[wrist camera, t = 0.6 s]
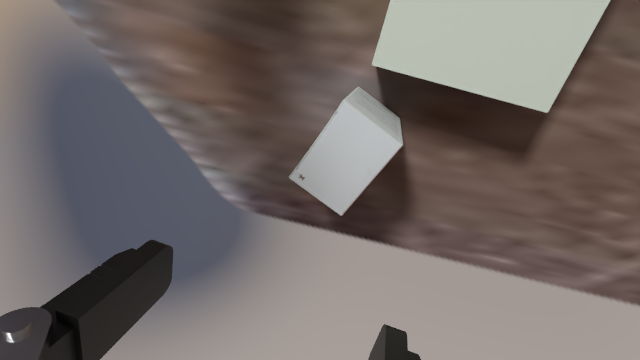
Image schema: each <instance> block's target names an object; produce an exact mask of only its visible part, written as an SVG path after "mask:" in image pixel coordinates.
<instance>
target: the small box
mask: <svg viewBox="0 0 640 360" xmlns="http://www.w3.org/2000/svg"><path fill="white" fill-rule="evenodd" d="M402 147H403V139H402V131H401V123H400V118H399V117H398V116H397V115H395V114H394V113H393V112H392V111H390V110H389V109H388V108H386V107H385V106H384V105H382V104H381V103H380V102H378V101H377V100H376V99H375V98H373V97H372V96H371V95H369V94H368V93H367V92H365V91H364V90H363V89H361V88H360V87H357V88H356V89H355V90H354V91H353V92H352V93H350V94H349V95H348V96H347V97H346V98H345V99H344V100H343V101H342V102H341V104H340V105H339V107H338V109H337V110H336V112H335V113H334V115H333V116H332V118H331V119H330V121H329V122H328V123H327V125H326V126H325V128H324V129H323V130H322V132H321V133H320V135H319V136H318V137H317V139H316V140H315V142H314V143H313V145H312V146H311V147H310V149H309V150H308V151H307V153H306V154H305V156H304V157H303V158H302V160H301V161H300V163H299V164H298V165H297V167H296V168H295V169H294V170H293V172H292V173H291V174H290V175H289V178H290V179H291V180H293V181H294V182H295V183H297V184H298V185H299V186H301V187H302V188H303V189H305V190H306V191H307V192H309V193H310V194H312V195H313V196H314V197H316V198H317V199H318V200H320V201H321V202H323V203H324V204H325V205H327V206H328V207H329V208H331V209H332V210H334V211H335V212H336V213H338V214H339V215H340V216H343V215H344V213H345V212H346V211H347V210H348V209H349V208H350V206H351V205H352V204H353V203H354V202H355V201H356V199H357V198H358V197H359V196H360V195H361V194H362V193H363V191H364V190H365V189H366V188H367V187H368V186H369V184H370V183H371V182H372V181H373V180H374V179H375V178H376V176H377V175H378V174H379V173H380V172H381V171H382V169H383V168H384V167H385V166H386V165H387V164H388V163H389V161H390V160H391V159H392V158H393V157H394V156H395V154H396V153H397V152H398V151H399V150H400V149H401V148H402Z"/></svg>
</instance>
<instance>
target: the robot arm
mask: <svg viewBox="0 0 640 360" xmlns="http://www.w3.org/2000/svg"><path fill="white" fill-rule="evenodd" d="M172 263H173V248H172V247H171V246H169V245H166V244H163V243H160V242H157V241H155V240H150V241H148V242H146V243H145V244H144V245H142V246H141V247H140V248H138V249H137V250H135V249H133V248H132V249H129V250H126V251H124V252H121V253H118V254H116V255H114V256H113V257H111V258H110V259H108V260H107V261H106V262H104V263H103V264H102V265H101V266H98V267H97V268H96V269H94V270H93V271H91V273H90V274H87V275H86V276H84V277H83V278H81V279H80V280H79V281H77V282H76V283H74V284H73V285H71V286H70V287H69V288H67V289H66V290H64V291H63V292H62V293H60V294H59V295H57V296H56V297H54V298H53V299H52V300H50V301H49V302H47V303H46V304H44V305H43V306H41V307H39V308H38V307H30V308H22V309H18V310H14V311H11V312H9V313H6V314H4V315H2V316H1V317H0V360H100V359H101V358H102V357H103V355H105V354H106V353H107V351H109V349H110V348H112V346H113V345H115V343H116V342H117V341H118V340H119V339H120V338H121V337H122V336H123V335H124V334H125V333H126V332H127V331H128V330H129V329H130V328H131V327H132V326H133V325H134V324H135V323H136V322H137V321H138V320H139V319H140V318H141V317H142V316H143V315H144V314H145V313H146V312H147V311H148V310H149V309H150V308H151V307H152V306H153V305H154V304H155V303H156V302H157V301H158V299H160V298H161V296H163V294H164V293H165V292H166V290H167V289H168V287H169V285H170V283H171V279H172ZM369 360H421V359H420V357H419V355H418V354H415V353H413V352H410V351H408V349H407V334H406V332H404V331H401V330H399V329H396V328H393V327H391V326H388V325H385V324H384V325H383V327H382V329H381V331H380V333H379V336H378V338H377V340H376V342H375V344H374V347H373V349H372V351H371V353H370V356H369Z"/></svg>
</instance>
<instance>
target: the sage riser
mask: <svg viewBox="0 0 640 360" xmlns="http://www.w3.org/2000/svg"><path fill="white" fill-rule="evenodd" d="M609 2H610V0H391V1H390V4H389V8H388V11H387V14H386V18H385V21H384V25H383V28H382V31H381V35H380V38H379V42H378V45H377V48H376V52H375V55H374V59H373V62H372V65H373V66H376V67H380V68H384V69H387V70H391V71H395V72H398V73H402V74H406V75H410V76H413V77H417V78H421V79H424V80H428V81H432V82H435V83H439V84H443V85H446V86H450V87H454V88H457V89H461V90H465V91H468V92H472V93H476V94H479V95H483V96H487V97H490V98H494V99H498V100H501V101H505V102H509V103H512V104H516V105H520V106H523V107H527V108H531V109H534V110H538V111H542V112H545V113H548V112H549V110H550V108H551V106H552V104H553V103H554V101H555V99H556V97H557V95H558V94H559V92H560V90H561V88H562V86H563V85H564V83H565V81H566V79H567V77H568V76H569V74H570V72H571V70H572V68H573V67H574V65H575V63H576V61H577V59H578V58H579V56H580V54H581V52H582V51H583V49H584V47H585V45H586V43H587V42H588V40H589V38H590V36H591V34H592V33H593V31H594V29H595V27H596V25H597V24H598V22H599V20H600V18H601V16H602V15H603V13H604V11H605V9H606V7H607V6H608V4H609Z"/></svg>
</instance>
